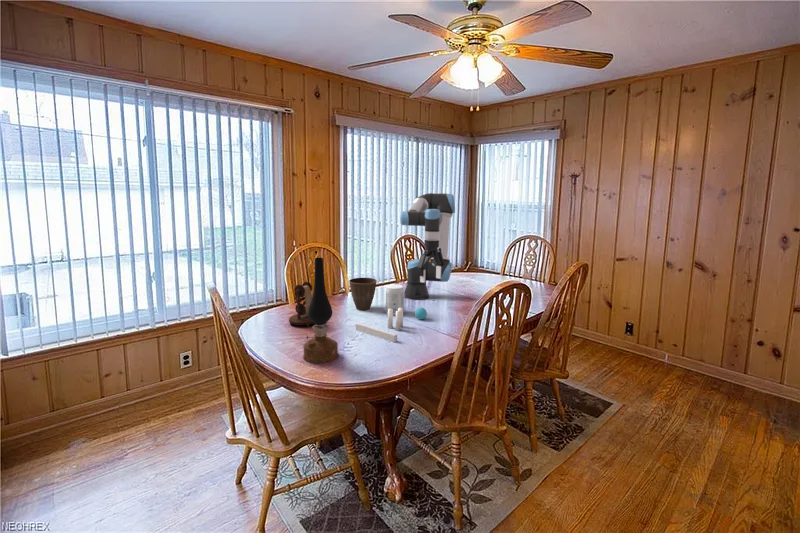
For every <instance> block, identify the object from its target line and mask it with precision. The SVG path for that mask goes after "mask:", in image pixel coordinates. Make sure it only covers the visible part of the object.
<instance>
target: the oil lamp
mask: <svg viewBox="0 0 800 533" xmlns="http://www.w3.org/2000/svg"><path fill="white" fill-rule="evenodd" d="M324 269H325V268H324V258H323V257H315V258H314V276H313V277H314V279H313V280H314V282H313V292H312V295H311V297H312V299H311V302H310V305H309V308H308V317H309V319H310V320H311V321H312V322H314V323H313V326H312V330H313V333H314V336H308V334H307V335H306V340H307V341H306V342H305V343H304V344H303V357H302V358H303V361H305V362H307V363H310V364H326V363H327V364H328V363H332V362H334V361H335V360H337V359H338V358H339V353H338V349H339V348H338V345H339V344H338V342H337V340H334V339H332V338H330V337H329V336H327V331H328V329H329V325H328V324H327V323H328V322H329V320H330V319H331V318H332V316H333V308H332V305H331V303H330V301H329V297H328V295H327V294H328V293H327V292H326V290H327V289H326V285H325V284H326V282H325V272H324V271H325V270H324ZM309 338H311V339H309ZM308 339H309V340H308Z"/></svg>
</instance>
